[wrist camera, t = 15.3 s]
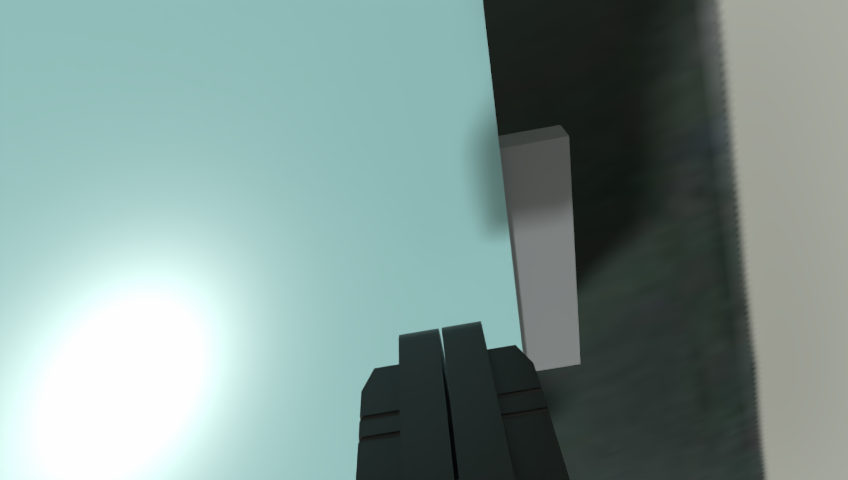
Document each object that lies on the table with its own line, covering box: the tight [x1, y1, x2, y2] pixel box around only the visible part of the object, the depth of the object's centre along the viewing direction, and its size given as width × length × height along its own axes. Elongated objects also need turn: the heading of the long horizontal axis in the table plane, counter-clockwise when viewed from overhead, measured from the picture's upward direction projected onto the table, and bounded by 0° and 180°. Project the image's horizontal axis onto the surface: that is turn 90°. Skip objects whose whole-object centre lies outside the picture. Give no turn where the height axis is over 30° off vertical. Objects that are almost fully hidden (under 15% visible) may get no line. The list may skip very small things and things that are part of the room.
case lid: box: [0, 0, 580, 480], centre depth 14 cm, size 22×16×1 cm
